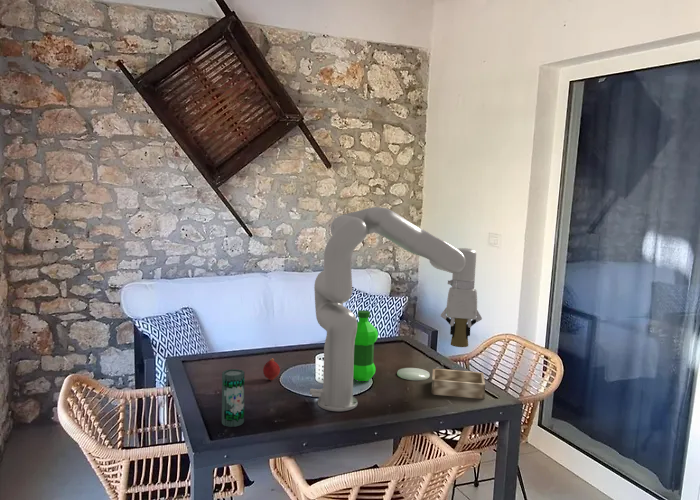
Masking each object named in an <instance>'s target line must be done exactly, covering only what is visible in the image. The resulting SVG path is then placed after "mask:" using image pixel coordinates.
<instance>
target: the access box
mask: <svg viewBox="0 0 700 500" xmlns="http://www.w3.org/2000/svg"><path fill="white" fill-rule="evenodd" d="M431 376H432V377H431V391H430V392H431V395H435V396H436V395H437V396H446V397H447V396H448V397H458V398H469V399H479V400H480V399H481V400H484V399H485V398H486V397H485V395H486V382H485V381H486V380H485V376H484V372H481V371H479V372H478V371H469V370H456V369H443V368H432V375H431Z"/></svg>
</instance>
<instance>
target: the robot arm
mask: <svg viewBox="0 0 700 500" xmlns="http://www.w3.org/2000/svg"><path fill="white" fill-rule="evenodd" d="M330 224H331V225H330V228H329V229H330V233H331V236H330V238H329V239H328V241H327V243H326V245H325V249H324V251H323V252H324V254H323V269H322V270H321V271H320V272H319V273H318V274H317V276H316V278H315V280H314V287H313V288H314V290H313V291H314V305H315V317H316V321H317V324H318V325H319V326H320V327H321V328H322V329H323V330H324V331H326V337H325V341H324V346H323V374H322V375H323V376H322V377H323V378H322V382H323V383H322V388H319V389H317V388H310V389H309V395H311V397H312V398H318V399H317V405H318V406H319V407H320V408H322V409H323V410H326V411H330V412H347V411H348V412H349V411H351V410H354V409H355V408H357V406H358V399H357V398H356V397H355V396H353V395H354V393H353V392H354V378H353V371H354V345H355V337H356V333H357V322H358V320H357V317H356V315H355V314H354V313H353V312H352V310H350V309H349V308H347V307H346V306H344V303H346V302H348V301H350V298H351V297H352V294H353V278H352V256H353V252H354V251H355V249H356V248H357V247H358V246H359V245H360V244H361V243H362V242H363V241H364V240H365V239H366V237H367V235H371V234H377V235H380V236H382V237H383V238H385V239H386V240H389V241H390V242H391V243H394V244H395V245H396V246H398V247H400V248H401V249H403V250H405V251H407V252H409V253H411V254H413V255H416V256H418V257H422V258H425V259H427V260H429V263H430V264H431V266H432V267H433V268H435V269H437V270H439V271H444V272H446V273H451V274H452V278H451V279H450V280H447V285H450V286H451V287H449V289H448V292H447V299H446V300H447V301H446V307H445V308H444V310H443V311H442V312H441V313H440V317H441V318H442V319H443V320H445V321H446V322H447V323H448V325H449V326H450V332H449V335H451V339H452V338H454V333H455V326H454V324H455V322H454V321H455V318H459V319H468V321H467V327H466V339H468V338H469V337H470V336H471V328H472V326H474V325H475V324H477V323H478V322H480V321H482V319H483V318H482V316H481V313H480V312H479V310H478V291H477V289H476V288H475V281H476V266H477V265H476V264H477V252H476V250H474V249H472V248H466V247H464V248H463V247H459V248H456V247H454V246H453V245H451V244H449V243H448V242H446V241H444V240H443V239H440V238H438V237H437V236H435V235H433V234H431V233H429V232H428V231H426V230H424V229H422V228H421V227H419V226H417V225H415V224H414V223H412V222H410V221H409V220H408V219H406V218H405V217H403V216H401V215H400V214H398V213H397V212H395V211H394V210H391V209H389V208H387V207H377V206H374V207H368V208H365V209H361V210H356V211H353V212H349V213H345V214H341V215H338V216H337V217H335V218H334V219H333V220H332V221H331V223H330ZM468 340H469V339H468Z"/></svg>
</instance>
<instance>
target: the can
mask: <svg viewBox="0 0 700 500" xmlns="http://www.w3.org/2000/svg"><path fill="white" fill-rule="evenodd" d="M244 423H245V370H243V369H236V368H235V369H234V368H231V369H225V370H223V371H222V372H221V424H222V425H223V426H224V427H225V426H226V427H229V428H232V427H234V428H235V427H240V426H241V425H243V424H244Z"/></svg>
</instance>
